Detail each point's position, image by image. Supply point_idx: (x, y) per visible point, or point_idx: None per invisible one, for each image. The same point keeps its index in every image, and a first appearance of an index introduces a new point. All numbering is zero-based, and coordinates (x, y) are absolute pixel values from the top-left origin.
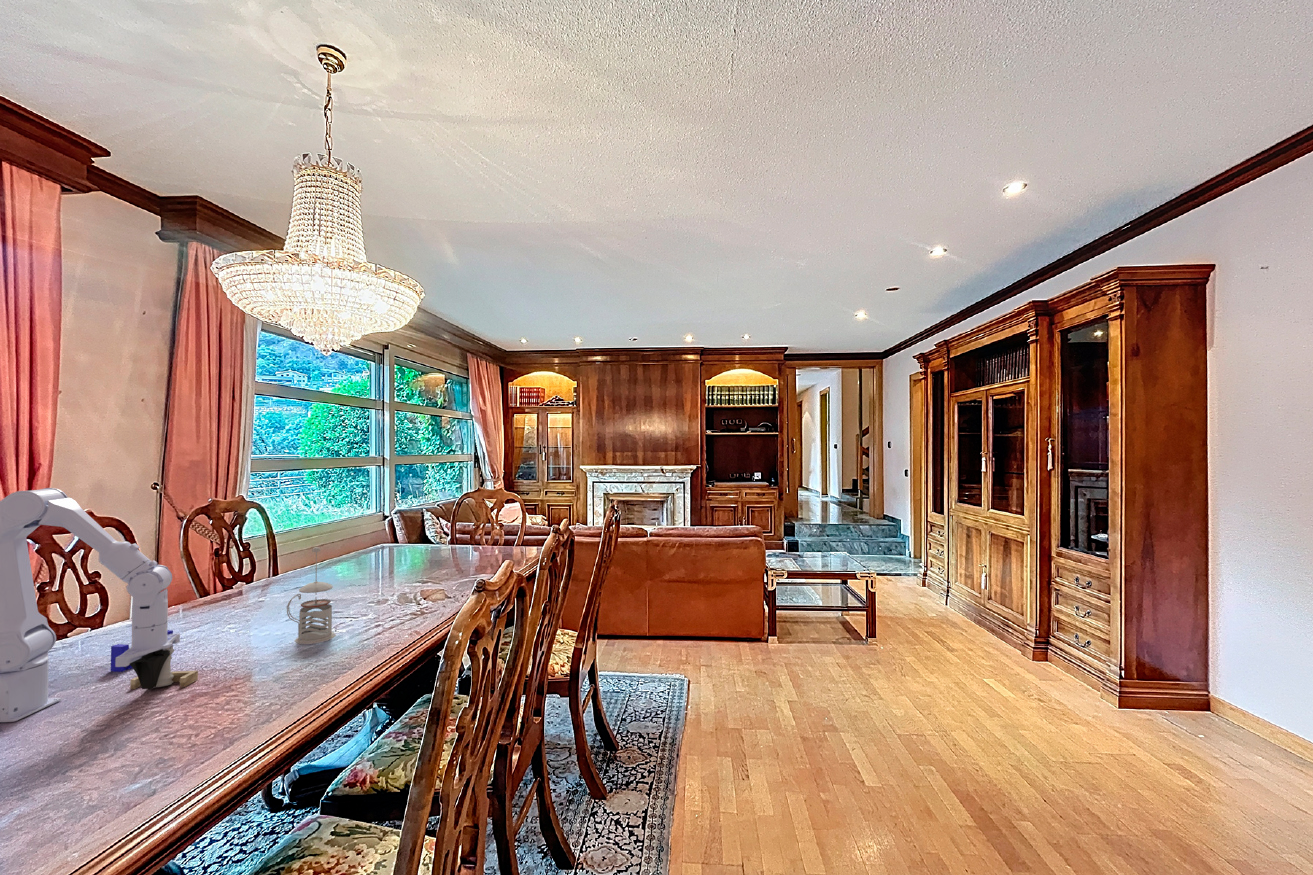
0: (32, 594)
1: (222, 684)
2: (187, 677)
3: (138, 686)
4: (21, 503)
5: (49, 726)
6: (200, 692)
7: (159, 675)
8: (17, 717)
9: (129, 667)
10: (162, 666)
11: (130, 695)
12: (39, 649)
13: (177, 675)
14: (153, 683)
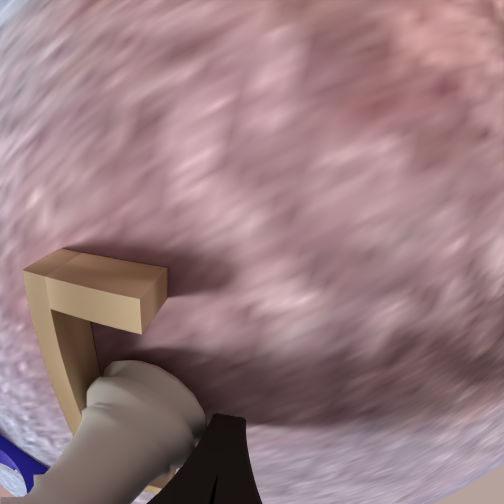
0: None
1: (173, 13)
2: (113, 288)
3: None
4: None
5: (442, 480)
6: (309, 85)
7: (163, 451)
8: None
9: (45, 470)
10: (158, 500)
11: (248, 453)
12: None
13: (75, 366)
14: (242, 438)
